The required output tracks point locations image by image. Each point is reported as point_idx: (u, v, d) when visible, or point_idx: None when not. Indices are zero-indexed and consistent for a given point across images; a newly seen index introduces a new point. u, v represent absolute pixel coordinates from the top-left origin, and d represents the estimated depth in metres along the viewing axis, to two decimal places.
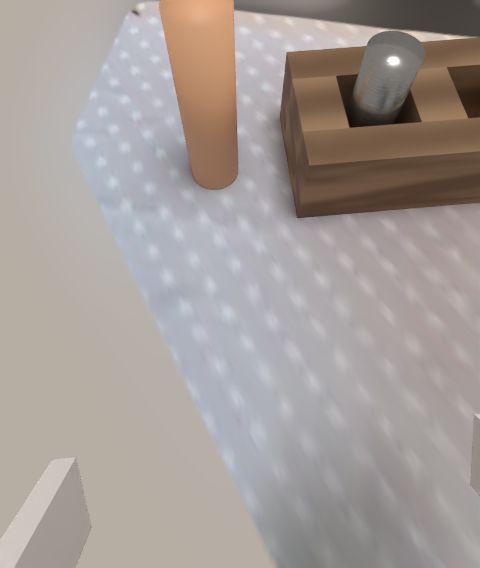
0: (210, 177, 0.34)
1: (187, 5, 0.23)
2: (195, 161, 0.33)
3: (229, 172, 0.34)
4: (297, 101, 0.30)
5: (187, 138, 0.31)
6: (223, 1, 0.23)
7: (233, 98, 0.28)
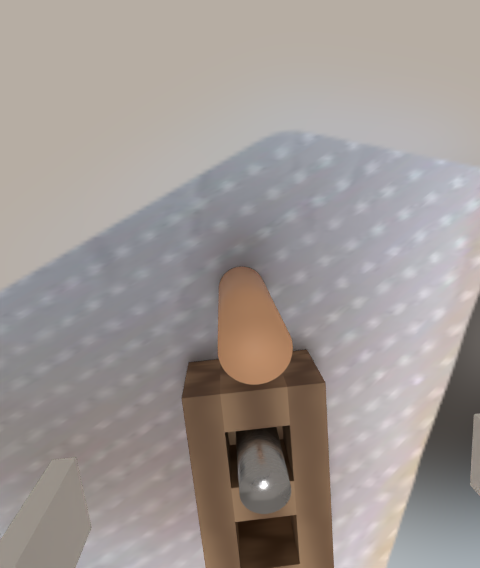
0: None
1: (252, 341, 0.22)
2: (224, 282, 0.33)
3: None
4: (257, 390, 0.32)
5: (229, 283, 0.31)
6: (257, 375, 0.23)
7: None
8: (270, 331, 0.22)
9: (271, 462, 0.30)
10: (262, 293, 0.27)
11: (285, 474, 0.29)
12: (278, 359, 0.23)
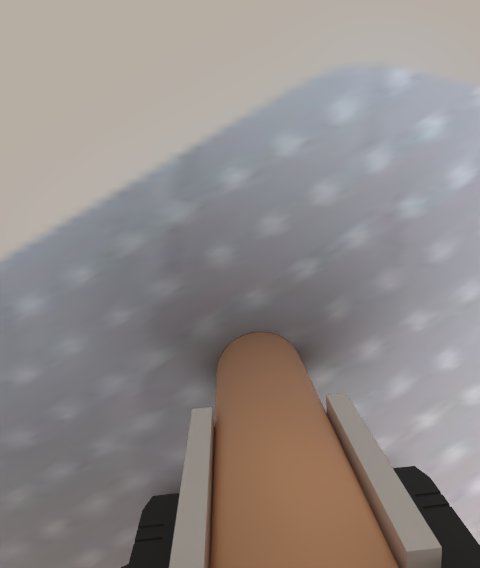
0: None
1: None
2: (226, 378, 0.16)
3: None
4: None
5: (239, 395, 0.14)
6: None
7: None
8: None
9: None
10: (330, 464, 0.10)
11: None
12: None
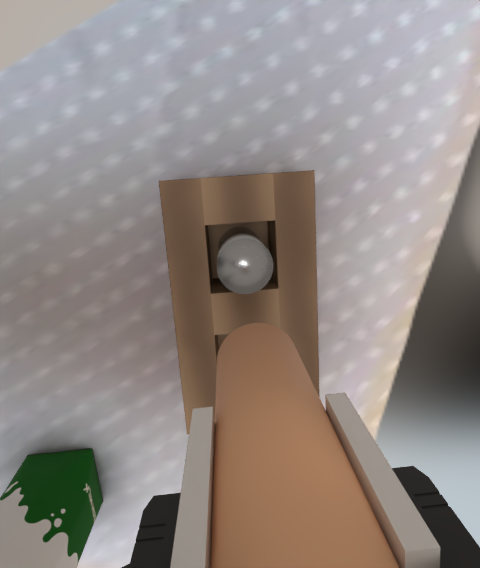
0: None
1: None
2: (226, 364, 0.17)
3: None
4: (241, 176, 0.29)
5: (238, 378, 0.15)
6: None
7: None
8: None
9: (252, 238, 0.27)
10: (319, 434, 0.11)
11: (267, 249, 0.27)
12: None
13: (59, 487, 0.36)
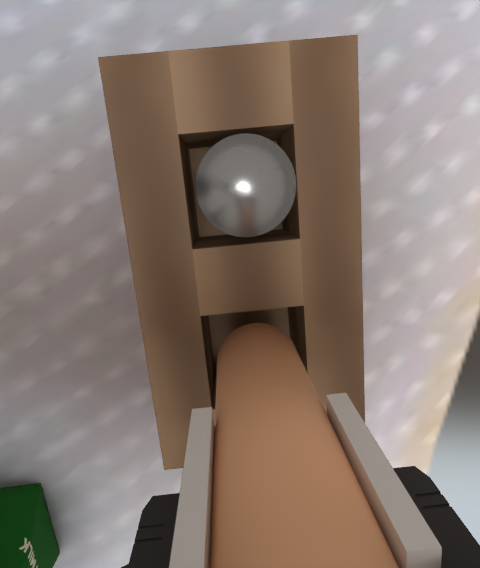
0: None
1: None
2: (226, 364, 0.17)
3: None
4: (235, 47, 0.18)
5: (238, 377, 0.15)
6: None
7: None
8: None
9: None
10: (318, 432, 0.11)
11: None
12: None
13: None
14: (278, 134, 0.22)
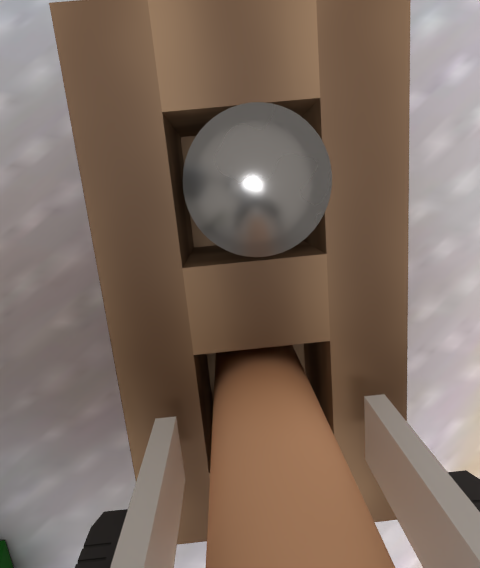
0: (215, 363, 0.20)
1: None
2: (224, 354, 0.18)
3: None
4: None
5: (235, 365, 0.16)
6: None
7: None
8: None
9: None
10: (307, 411, 0.12)
11: None
12: None
13: None
14: None
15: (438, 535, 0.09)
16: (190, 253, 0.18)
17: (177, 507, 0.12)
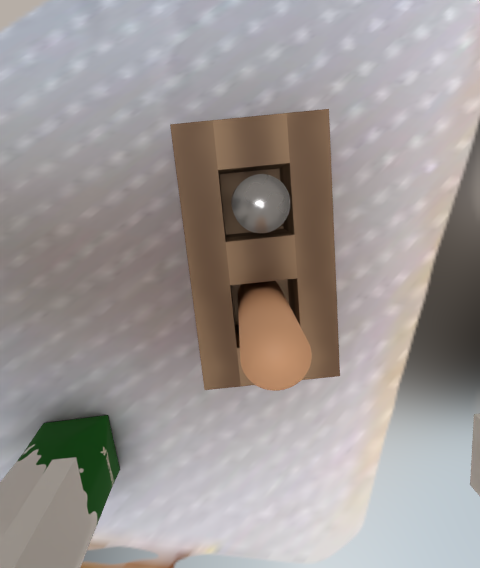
0: None
1: (273, 350, 0.23)
2: (243, 290, 0.35)
3: None
4: (254, 117, 0.29)
5: (249, 292, 0.32)
6: (277, 381, 0.24)
7: None
8: (290, 340, 0.23)
9: None
10: (281, 302, 0.29)
11: (283, 185, 0.26)
12: (298, 366, 0.24)
13: (76, 448, 0.36)
14: (280, 166, 0.33)
15: None
16: (225, 237, 0.35)
17: None
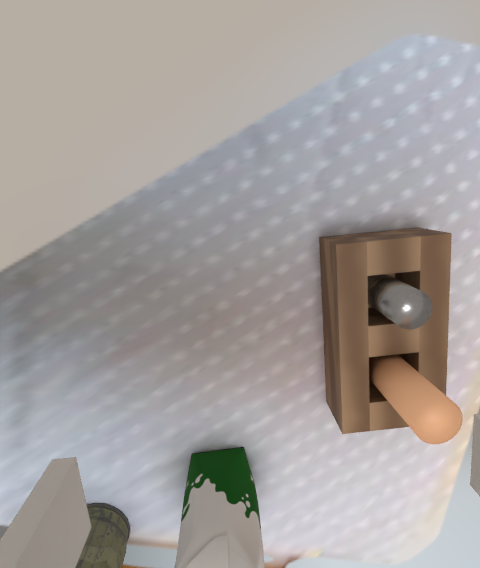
0: None
1: (436, 416, 0.34)
2: None
3: None
4: (397, 239, 0.39)
5: (381, 360, 0.43)
6: (437, 437, 0.34)
7: None
8: (448, 410, 0.34)
9: (415, 288, 0.37)
10: (419, 373, 0.39)
11: None
12: (452, 427, 0.34)
13: (237, 477, 0.46)
14: None
15: None
16: None
17: None
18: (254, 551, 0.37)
